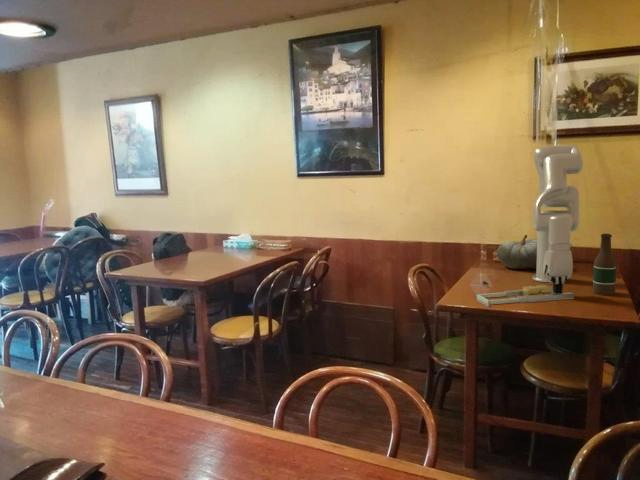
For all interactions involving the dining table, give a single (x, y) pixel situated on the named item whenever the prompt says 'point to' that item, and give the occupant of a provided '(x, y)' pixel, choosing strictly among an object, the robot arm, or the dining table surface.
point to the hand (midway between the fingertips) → (557, 293)
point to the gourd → (519, 254)
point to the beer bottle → (604, 269)
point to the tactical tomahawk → (485, 284)
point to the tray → (484, 296)
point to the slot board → (538, 296)
